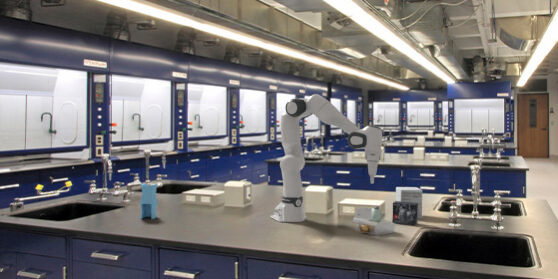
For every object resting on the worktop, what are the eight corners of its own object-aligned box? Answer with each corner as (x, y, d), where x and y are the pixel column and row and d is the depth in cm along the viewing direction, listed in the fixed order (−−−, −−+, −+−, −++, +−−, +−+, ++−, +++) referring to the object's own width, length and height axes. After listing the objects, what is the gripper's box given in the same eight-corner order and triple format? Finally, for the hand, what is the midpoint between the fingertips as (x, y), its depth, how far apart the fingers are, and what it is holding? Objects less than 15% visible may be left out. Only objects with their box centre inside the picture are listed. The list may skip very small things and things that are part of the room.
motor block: (354, 231, 239) (354, 220, 239) (377, 227, 249) (377, 217, 249) (370, 236, 229) (370, 224, 229) (394, 232, 239) (394, 220, 239)
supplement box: (422, 219, 274) (422, 190, 273) (400, 218, 274) (400, 189, 273) (416, 214, 287) (416, 186, 286) (395, 214, 287) (395, 186, 286)
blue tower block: (157, 216, 276) (157, 183, 275) (152, 219, 268) (152, 185, 267) (145, 216, 276) (145, 183, 276) (140, 218, 269) (139, 185, 268)
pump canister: (369, 221, 241) (369, 206, 240) (376, 220, 243) (376, 205, 243) (376, 223, 236) (376, 207, 236) (383, 222, 239) (383, 206, 239)
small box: (391, 223, 261) (392, 202, 261) (394, 221, 267) (395, 200, 267) (415, 225, 255) (415, 204, 254) (417, 223, 261) (418, 202, 260)
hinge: (351, 222, 264) (354, 205, 266) (355, 223, 267) (358, 206, 269) (378, 226, 253) (381, 208, 255) (381, 227, 257) (384, 210, 259)
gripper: (367, 154, 251) (366, 179, 251) (366, 157, 231) (365, 184, 231) (378, 155, 250) (378, 180, 250) (379, 157, 230) (378, 185, 230)
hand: (372, 182), depth 241 cm, fingers open, 8 cm apart
